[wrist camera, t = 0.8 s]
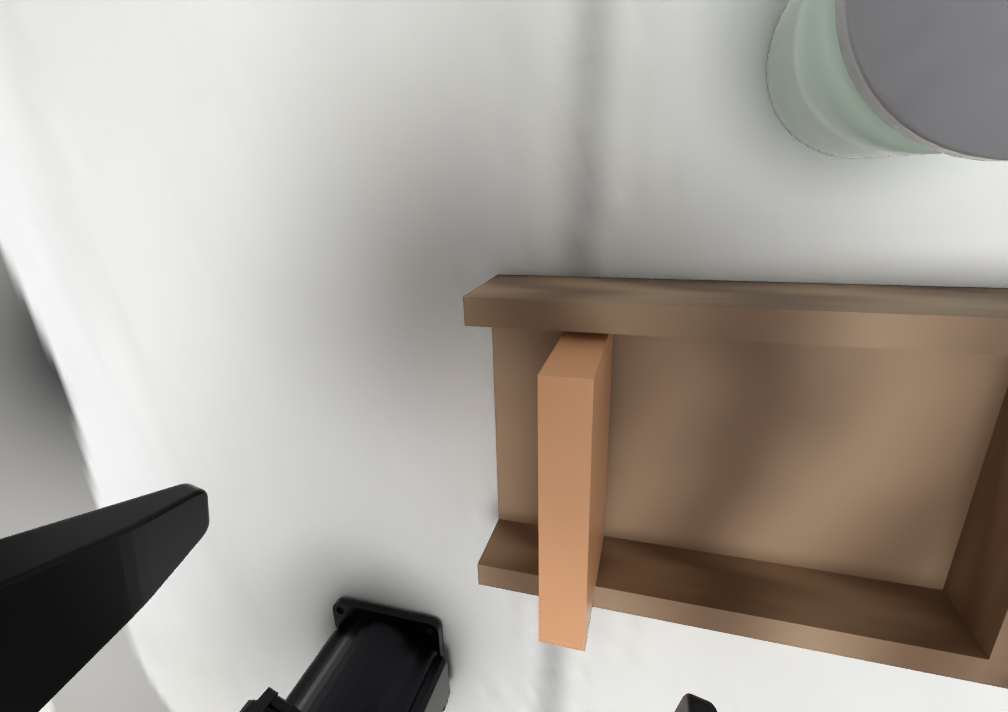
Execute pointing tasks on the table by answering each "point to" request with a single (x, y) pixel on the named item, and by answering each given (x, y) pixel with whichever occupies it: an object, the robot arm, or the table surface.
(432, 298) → the table surface
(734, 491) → the brown wooden tray
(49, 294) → the table surface
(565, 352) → the tan wooden beam
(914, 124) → the jar
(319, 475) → the table surface
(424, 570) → the table surface
